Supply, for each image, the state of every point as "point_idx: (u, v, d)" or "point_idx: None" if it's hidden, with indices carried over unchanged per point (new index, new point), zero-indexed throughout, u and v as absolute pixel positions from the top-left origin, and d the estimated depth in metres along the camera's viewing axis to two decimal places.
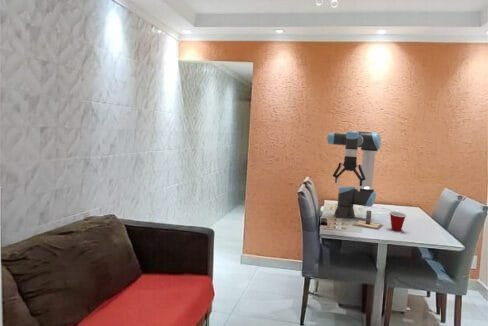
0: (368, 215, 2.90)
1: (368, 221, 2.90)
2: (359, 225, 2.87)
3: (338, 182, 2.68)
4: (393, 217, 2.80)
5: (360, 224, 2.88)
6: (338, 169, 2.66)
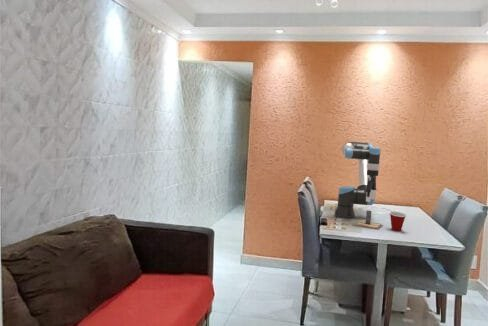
0: (368, 215, 2.90)
1: (368, 221, 2.90)
2: (359, 225, 2.87)
3: (373, 194, 2.95)
4: (393, 217, 2.80)
5: (360, 224, 2.88)
6: None
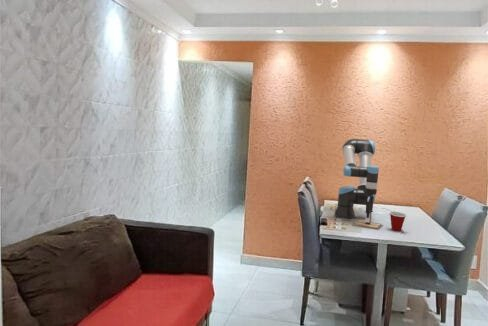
0: None
1: None
2: (359, 225, 2.87)
3: None
4: (393, 217, 2.80)
5: (360, 224, 2.88)
6: None
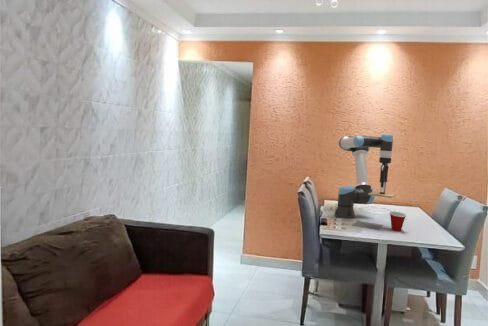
0: None
1: None
2: (373, 194, 2.81)
3: None
4: (393, 217, 2.80)
5: (374, 194, 2.82)
6: None
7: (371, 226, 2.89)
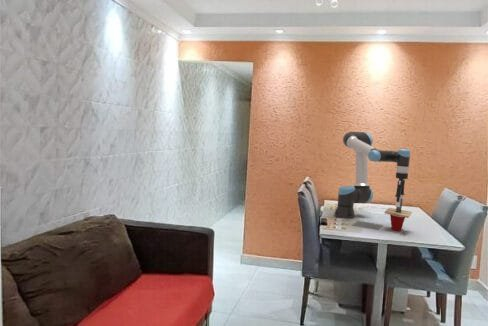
0: None
1: (399, 209, 2.80)
2: (390, 213, 2.77)
3: None
4: (393, 217, 2.80)
5: (391, 212, 2.78)
6: None
7: (371, 226, 2.89)
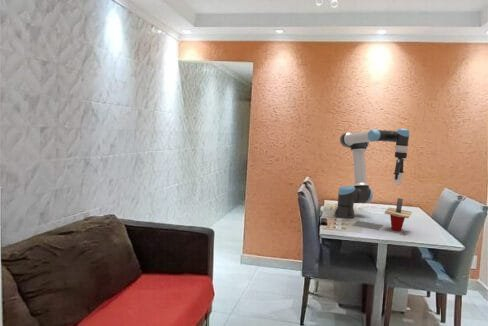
0: (399, 203, 2.79)
1: (399, 209, 2.80)
2: (390, 213, 2.77)
3: (400, 176, 2.89)
4: (393, 217, 2.80)
5: (391, 212, 2.78)
6: None
7: (371, 226, 2.89)
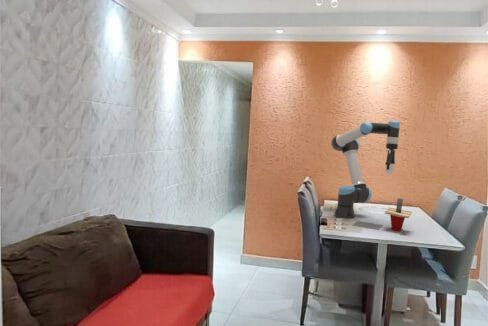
0: (399, 203, 2.79)
1: (399, 209, 2.80)
2: (390, 213, 2.77)
3: (391, 167, 3.00)
4: (393, 217, 2.80)
5: (391, 212, 2.78)
6: None
7: (371, 226, 2.89)
